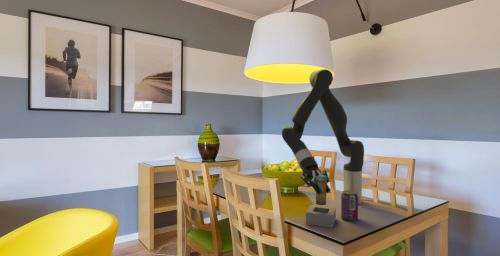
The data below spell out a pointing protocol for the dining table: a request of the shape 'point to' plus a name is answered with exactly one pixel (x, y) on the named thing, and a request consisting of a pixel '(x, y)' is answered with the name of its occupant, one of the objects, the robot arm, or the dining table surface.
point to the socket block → (321, 216)
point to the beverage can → (349, 205)
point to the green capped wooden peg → (322, 185)
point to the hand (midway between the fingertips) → (324, 192)
